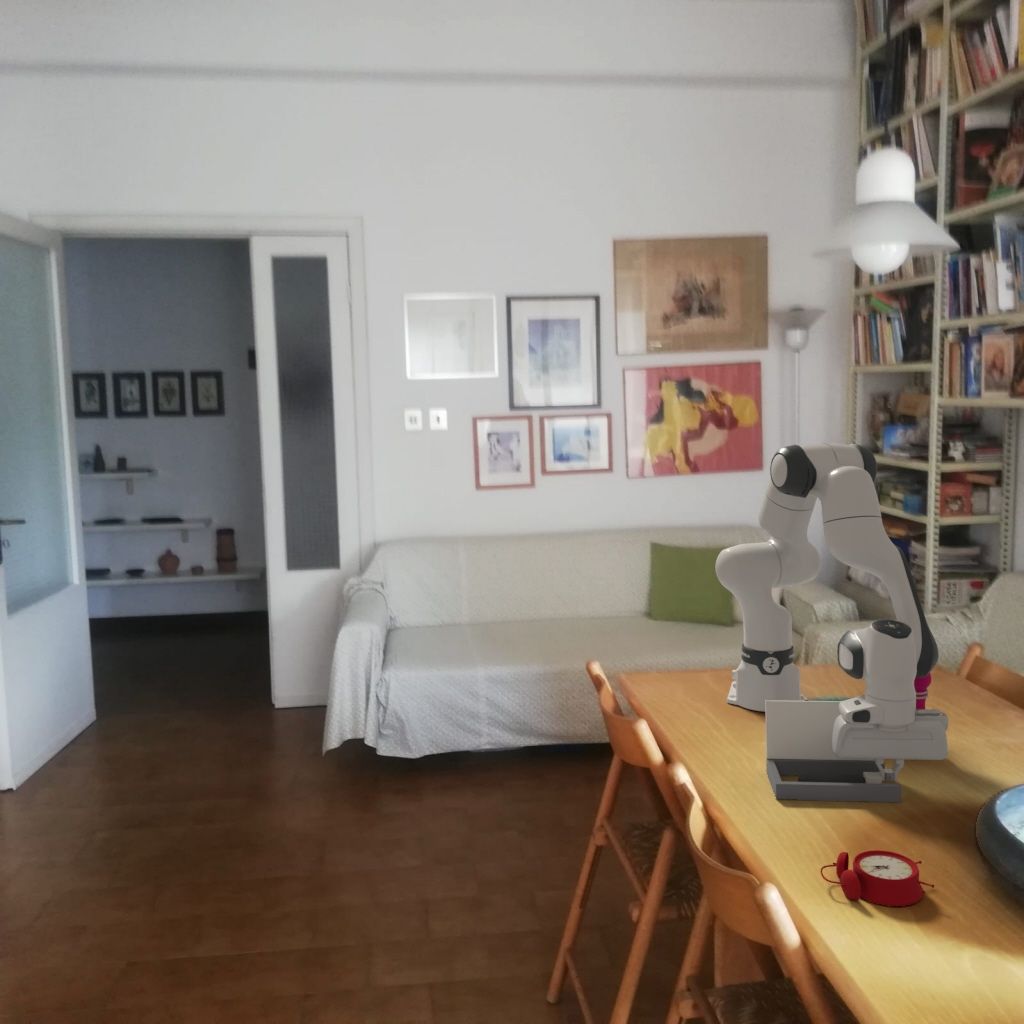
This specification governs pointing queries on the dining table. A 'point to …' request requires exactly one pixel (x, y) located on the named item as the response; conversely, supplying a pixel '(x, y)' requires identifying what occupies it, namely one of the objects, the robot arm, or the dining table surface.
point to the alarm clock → (879, 878)
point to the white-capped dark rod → (842, 778)
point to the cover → (801, 729)
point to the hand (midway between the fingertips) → (888, 779)
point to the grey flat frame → (827, 789)
